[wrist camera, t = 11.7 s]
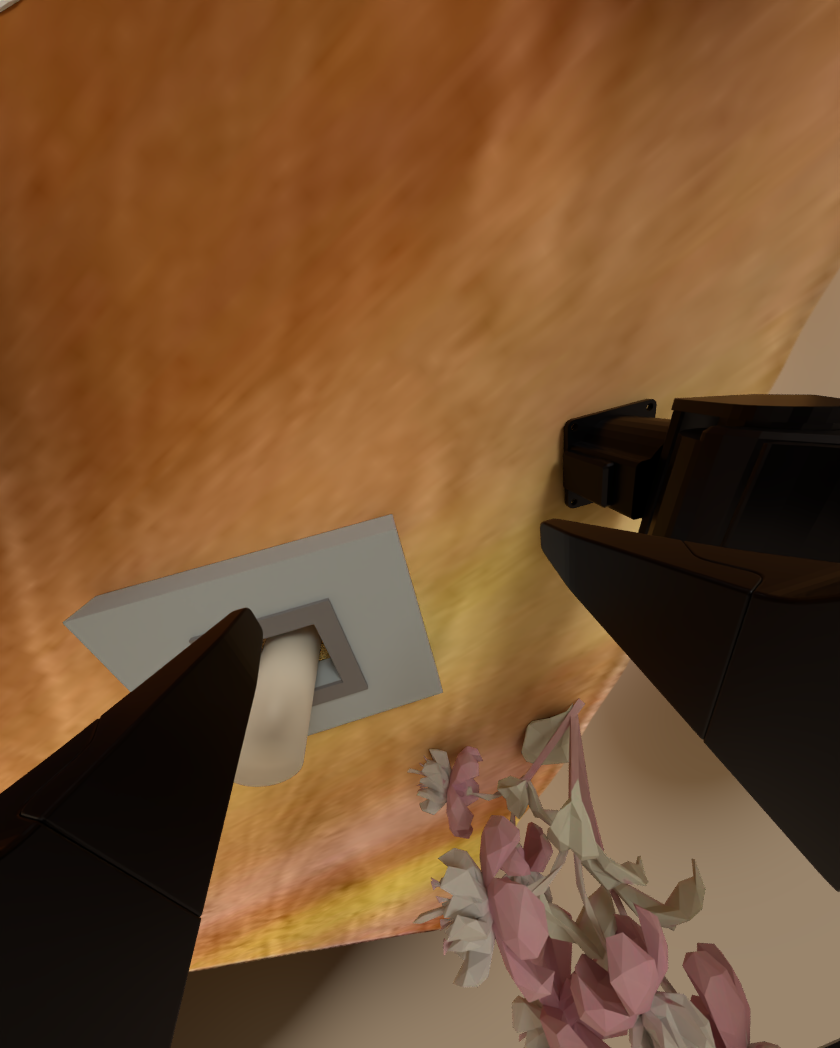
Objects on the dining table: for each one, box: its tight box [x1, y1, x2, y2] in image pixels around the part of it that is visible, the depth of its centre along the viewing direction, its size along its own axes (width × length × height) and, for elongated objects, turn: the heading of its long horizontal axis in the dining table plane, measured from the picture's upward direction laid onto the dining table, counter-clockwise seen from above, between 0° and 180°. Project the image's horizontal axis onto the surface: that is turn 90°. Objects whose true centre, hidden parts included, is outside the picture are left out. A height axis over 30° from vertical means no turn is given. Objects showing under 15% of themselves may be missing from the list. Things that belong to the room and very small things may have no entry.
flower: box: [408, 699, 780, 1048], centre depth 26 cm, size 20×22×25 cm
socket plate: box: [63, 514, 443, 736], centre depth 23 cm, size 20×16×3 cm
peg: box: [234, 624, 322, 787], centre depth 20 cm, size 4×4×9 cm
